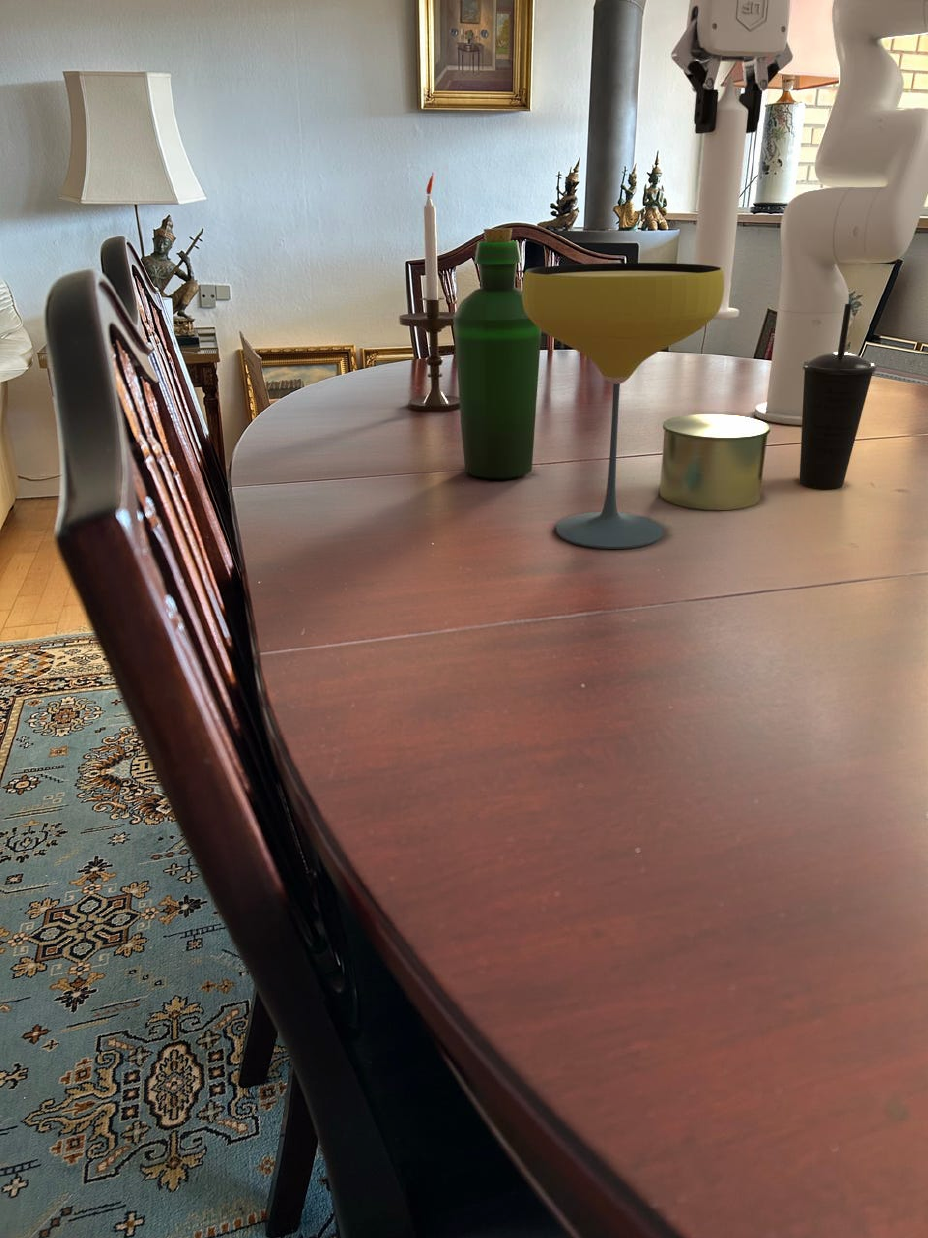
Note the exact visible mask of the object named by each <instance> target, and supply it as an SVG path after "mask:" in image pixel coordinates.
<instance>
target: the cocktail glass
mask: <svg viewBox="0 0 928 1238" xmlns="http://www.w3.org/2000/svg"><path fill="white" fill-rule="evenodd" d="M523 273H524V274H523V278H522V284H521V290H522V302H523V307H524V311H525V313H526V315H527V316H528V317H529V319H530V320H531V321H532V322H533V323H534V324H535V325H536V326H537V327H539V328H540V330H541V332H544V333H545V334H547V336H549V337H551V338H553V339H555V340H556V341H558V342H560V343H562V344H564V345H566V346H567V347H569V348H572V349H573V350H575V351H576V352H578V353H580V354H582V355H583V356H585V357H586V358H588V359H589V360H591V362H593V363H594V364H595V366H596V367H597V369H598V371H599V372H600V374H601V375H602V376H603V378H604V379H605V380H606V381H607V382H608V383H610V384H612V402H611V424H610V439H609V441H610V443H609V455H608V456H609V458H608V471H607V473H608V474H607V483H606V485H607V486H606V493H605V499H604V503H603V504H604V505H603V508H602V511H593V512H592V511H591V512H584V513H579V514H574V515H570V516H568V517H565V518H563V519H561V520H560V521H558V523H557V524H556V526H555V527H556V528H555V531H556V533H557V534H558V537H560V538H561V539H563V541H566V542H568V543H571V544H574V545H578V546H581V547H587V548H591V549H600V550H602V549H603V550H627V549H637V548H641V547H645V546H648V545H651V544H653V543H656V542H658V541H659V540H660V539H661V538H662V537H663V534H664V529H663V526H661V524H660V523H658V522H657V521H656V520H653V519H651V518H648V517H647V516H642V515H639V514H633V513H629V512H627V513H626V512H619V511H618V506H617V498H616V497H617V496H616V495H617V494H616V493H617V492H616V477H617V476H616V475H617V450H618V449H617V447H618V426H619V425H618V424H619V405H620V390H621V389H620V388H621V384H623V383H625V382H627V381H628V380H630V378H631V376H632V375H633V374H634V373H635V371H636V370H637V369H638V368H639V367H640V365H641V364H642V363H643V362H645V361H646V360H647V359H649V358H651V357H652V356H653V355H655V354H657V353H659V352H660V351H663V350H665V349H666V348H669V347H671V346H673V345H675V344H677V343H679V342H681V341H683V340H684V339H686V338H688V337H690V336H693V334H695V333H697V332H698V331H700V330H702V329H703V327H705V326H706V325H708V324H709V322H711V321H712V320H714V319H713V318H714V317H715V315H716V314H717V313H718V311H719V309H720V307H721V304H722V300H723V294H724V273H723V270H722V268H720V267H716V266H710V265H698V264H693V263H677V262H676V263H675V262H604V263H577V264H576V263H575V264H559V265H548V266H547V265H546V266H539V267H532V268H527V269H526V270H525V272H523Z"/></svg>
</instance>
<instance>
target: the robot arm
mask: <svg viewBox="0 0 928 1238" xmlns="http://www.w3.org/2000/svg"><path fill="white" fill-rule="evenodd" d="M790 2H791V0H689V4H688V13H687V18H686V19H687V21H686V29H685V31H684V32H683V34H682V36H681V37H680V39H679V40H678V41H677V44H675V46H674V48H673V50H672V51H671V53H670V57H671V58H670V59H671V60H672V61H673V62H674V63H675V64H676V65H677V67H679V68H680V70H682V71H683V73H684V75H685V77H686V78H687V80H688V82H689V83H690V84H691V89H692V91H693V93H695V102H694V105H695V106H694V116H693V122H694V126H695V127H694V132H695V134H697V135H700V134H701V135H702V134H705V133H708V132H713V131H714V130H715V127H716V116H717V105H718V101H719V89H716V88H715V84H716V81H717V78H718V73H719V70H720V67H721V63H722V62H727V63H728V62H733V63H734V62H735V63H742V71H743V72H742V75H743V86H744V92H742V93H740V94H739V95H738V96H739V97H738V101H739V102H740V103H741V104H742V105H743V106H744V107H746V108H747V110H748V119H747V129H746V134H752V133H753V134H754V133H756V132H757V129H758V124H759V121H760V114H761V107H762V97H763V92H764V91H766V90H767V89H768V87H769V84H770V83H771V82H772V80H773V79H774V78H775V77H776V76H777V75H778V73H779V72H780V71H781V70H783V69H784V68H785V67H787V65H789V64H790V63H791V62H792V61H793V58H794V55H793V52H792V49H791V47H790V45H789V43H788V35H789V34H788V33H789V21H790V20H789V19H790V6H791V4H790ZM832 2H833V3H832V9H831V12H832V13H831V17H832V19H831V21H832V29H833V30H832V31H833V38H834V45H835V52H836V59H837V65H838V74H839V75H838V76H839V80H838V87H837V90H836V93H835V96H834V100H833V103H832V106H831V109H830V112H829V114H828V118H827V121H826V123H825V127H824V129H823V133H822V135H821V138H820V141H819V145H818V147H817V151H816V155H815V160H814V174H815V178H817V180H818V182H820V183H821V184H822V185H824V186H827V187H819V188H814V189H813V188H812V189H808V190H805V191H803V192H800V193H799V194H797V195H795V196H794V197H792V199H790V200H789V202H788V203H787V205H786V206H785V207H784V208H785V209H784V210H783V213H782V217H781V221H780V246H781V247H780V248H781V278H780V289H779V298H778V306H777V314H776V320H775V321H776V322H775V330H774V337H773V338H774V339H773V347H772V355H771V363H770V369H769V370H770V371H769V379H768V387H767V395H766V402H763V403H761V404H758V405H757V406H755V407H754V415H755V417H757V418H758V419H760V420H763V421H767V422H771V423H776V424H783V425H793V426H802V414H803V393H804V372H805V370H804V369H803V368H802V366H803V363H804V362H806V361H809V360H812V359H814V358H816V357H818V356H821V355H824V354H829V353H838V348H839V341H840V335H841V328H842V322H843V315H844V308H845V304H849V300H850V297H849V295H850V293H849V288H848V285H847V282H846V280H845V278H844V276H843V274H842V273H841V271H840V269H839V267H838V265H837V264H887V263H893V262H896V261H897V260H898V259H901V257H902V256H903V255H904V254H905V253H906V252H907V250H908V248H909V247H910V245H911V242H912V240H913V238H914V235H915V232H916V229H917V228H918V224H919V221H920V218H921V215H922V212H923V210H924V207H925V204H926V201H927V197H928V108H925V107H906V108H898V107H899V104H900V101H901V98H902V95H903V91H904V86H905V81H904V76H903V74H902V71H901V69H900V67H899V66H898V63H897V62H896V60H895V59H894V58H893V56H892V55H891V53H889V52H888V50H887V48H885V46H884V45H883V42H882V40H886V39H887V40H888V39H894V38H904V37H913V36H919V35H928V0H833V1H832ZM771 57H772V59H770V60H769V62H767V61H768V60H767V58H771Z"/></svg>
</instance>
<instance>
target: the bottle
mask: <svg viewBox="0 0 928 1238" xmlns="http://www.w3.org/2000/svg"><path fill="white" fill-rule="evenodd" d="M512 232H513V228H483V235H484V240H483V241H477V245H476V250H475V257H474V265H478V267H479V268H478V269H479V280H480V281H479V282H480V287H479V288H478V289H475V290H473V291H472V292H471V293H470V294H469V295H467V296H465V298H464V299H463V300H461V302H460V304H459V306H458V308H457V309H456V311H455V315H454V316H453V321H454V325H453V335H454V346H455V358H456V360H455V361H456V372H457V386H458V397H459V400H460V408H459V410H460V412H459V413H460V424H461V437H462V439H461V440H462V451H463V466H464V471H465V472H466V473H468V474H470V475H472V476H473V477H476V478H479V479H484V480H491V481H493V480H494V481H496V480H499V481H502V480H512V479H517V478H521V477H523V476H525V475H526V474H528V473H531V472H532V470H533V460H534V459H533V458H534V443H535V431H536V429H535V428H536V415H537V401H538V387H539V386H538V385H539V371H540V357H541V343H542V330H540V328H539V327H537V326H536V325H535V324H534V323H533V322H532V321H531V320H530V319H529V317H528V316H527V315H526V313H525V311H524V307H523V302H522V288H518V287H516V277H517V276H516V275H517V264H522V258H521V251H520V246H519V245H520V244H519V241H518V240H511V239H512Z"/></svg>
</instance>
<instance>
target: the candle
mask: <svg viewBox="0 0 928 1238" xmlns="http://www.w3.org/2000/svg"><path fill="white" fill-rule="evenodd" d="M747 119H748V110H747V108H746V107H744V106H743V105H742V104H741V103H740V102H739V99H737V96H736V92H735V86H734V77H733V76H732V75H729V76H728V77H727V79H726V83H725V86H724V90H723V93H722V95H721V97H720V99H718V105H717V116H716V127H715V130H714V131H713V132H708V133H703V145H702V147H703V148H702V159H701V160H702V161H701V169H700V170H701V171H700V180H699V181H700V182H699V194H698V204H697V205H698V207H697V215H696V216H697V218H696V228H695V241H694V250H693V251H694V253H693V263H692V264H698V265H710V266H716V267H720V268H722V270H723V273H724V294H723V300H722V304H721V307H720V309H719V311H718V313H717V314H716V315H715V317H714V318H713V319H712V320H728V319H735V318H738V317H739V314H740V310H739V308H736V307H735V308H734V307H729V304H730V296H731V295H730V294H731V285H732V284H731V283H732V275H733V264H734V255H735V245H736V238H737V237H736V236H737V226H738V216H739V206H740V198H741V196H740V195H741V186H742V177H743V167H744V158H745V148H746V140H747V139H746V137H747V133H746V129H747Z"/></svg>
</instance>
